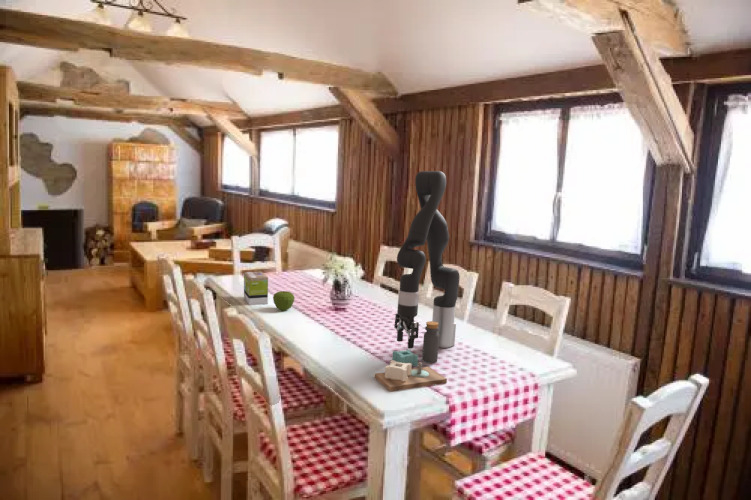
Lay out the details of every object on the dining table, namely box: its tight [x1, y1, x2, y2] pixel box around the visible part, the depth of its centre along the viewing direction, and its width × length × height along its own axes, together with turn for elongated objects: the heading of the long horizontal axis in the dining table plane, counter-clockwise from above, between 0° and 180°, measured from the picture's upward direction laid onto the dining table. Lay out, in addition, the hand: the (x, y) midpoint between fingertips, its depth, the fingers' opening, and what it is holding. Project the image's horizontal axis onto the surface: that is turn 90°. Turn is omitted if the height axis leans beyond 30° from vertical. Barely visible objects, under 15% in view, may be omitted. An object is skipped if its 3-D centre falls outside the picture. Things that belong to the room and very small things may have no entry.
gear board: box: [374, 361, 448, 392], centre depth 183 cm, size 22×12×6 cm, turn 116°
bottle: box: [421, 320, 439, 364], centre depth 203 cm, size 6×6×15 cm
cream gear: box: [384, 359, 413, 382], centre depth 181 cm, size 8×8×4 cm
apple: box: [272, 290, 295, 312], centre depth 264 cm, size 11×10×10 cm
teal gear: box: [391, 348, 419, 367], centre depth 199 cm, size 8×8×4 cm
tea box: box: [243, 271, 269, 306], centre depth 278 cm, size 15×10×15 cm
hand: (404, 344), depth 198 cm, fingers open, 8 cm apart
